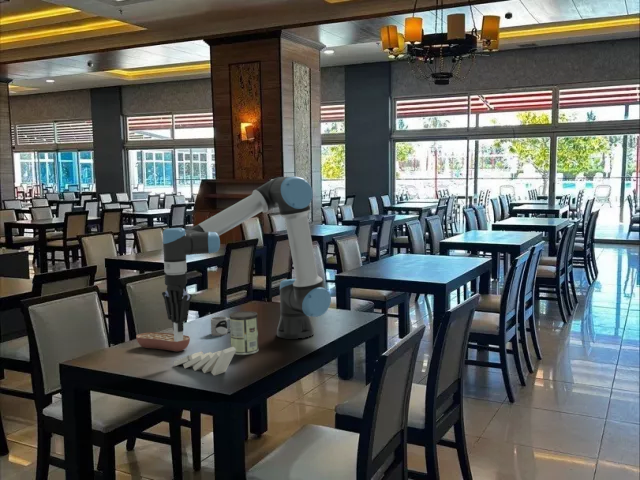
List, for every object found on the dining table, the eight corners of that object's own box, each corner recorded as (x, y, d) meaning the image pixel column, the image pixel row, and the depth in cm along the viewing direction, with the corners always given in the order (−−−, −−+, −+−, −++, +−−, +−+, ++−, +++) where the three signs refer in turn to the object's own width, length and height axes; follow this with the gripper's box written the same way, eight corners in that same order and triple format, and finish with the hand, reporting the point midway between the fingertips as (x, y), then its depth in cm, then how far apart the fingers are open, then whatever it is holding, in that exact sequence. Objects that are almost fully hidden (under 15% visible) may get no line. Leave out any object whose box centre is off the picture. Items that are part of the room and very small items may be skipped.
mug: (216, 336, 257) (216, 320, 257) (208, 334, 262) (207, 318, 262) (237, 332, 264) (236, 316, 263) (228, 329, 269) (228, 314, 268)
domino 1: (185, 362, 221) (203, 355, 216) (174, 366, 217) (192, 359, 212) (184, 358, 222) (202, 351, 216) (173, 361, 218) (191, 354, 212)
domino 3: (205, 367, 215) (222, 355, 210) (194, 371, 211) (210, 358, 206) (203, 363, 216) (220, 350, 210) (192, 366, 212) (208, 354, 206)
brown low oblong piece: (131, 349, 241) (131, 336, 241) (149, 343, 250) (148, 330, 249) (180, 355, 231) (179, 342, 231) (196, 348, 240) (195, 335, 240)
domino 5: (225, 371, 210) (236, 349, 205) (214, 375, 206) (225, 353, 201) (222, 368, 210) (233, 346, 206) (211, 372, 206) (222, 350, 202)
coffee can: (238, 346, 241) (237, 310, 240) (263, 348, 238) (261, 311, 236) (225, 354, 231) (224, 316, 230) (251, 355, 228) (250, 317, 227)
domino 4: (215, 369, 212) (229, 352, 207) (204, 373, 208) (218, 356, 203) (213, 365, 213) (227, 348, 208) (201, 369, 209) (216, 352, 204)
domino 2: (195, 365, 218) (213, 356, 212) (184, 368, 214) (201, 359, 209) (194, 360, 219) (211, 351, 213) (183, 364, 215) (200, 355, 209)
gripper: (154, 273, 217) (157, 340, 220) (179, 276, 210) (182, 345, 212) (171, 270, 223) (174, 335, 226) (196, 273, 216) (199, 340, 218)
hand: (178, 340), depth 219 cm, fingers closed
